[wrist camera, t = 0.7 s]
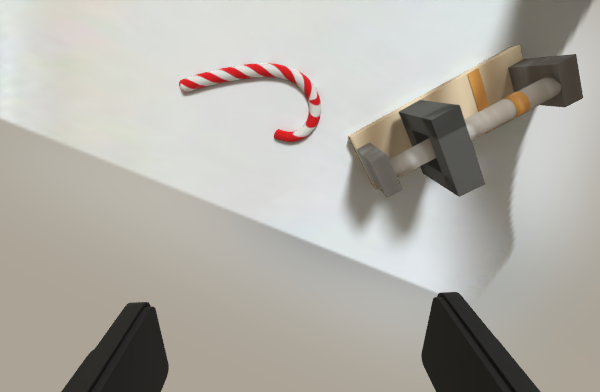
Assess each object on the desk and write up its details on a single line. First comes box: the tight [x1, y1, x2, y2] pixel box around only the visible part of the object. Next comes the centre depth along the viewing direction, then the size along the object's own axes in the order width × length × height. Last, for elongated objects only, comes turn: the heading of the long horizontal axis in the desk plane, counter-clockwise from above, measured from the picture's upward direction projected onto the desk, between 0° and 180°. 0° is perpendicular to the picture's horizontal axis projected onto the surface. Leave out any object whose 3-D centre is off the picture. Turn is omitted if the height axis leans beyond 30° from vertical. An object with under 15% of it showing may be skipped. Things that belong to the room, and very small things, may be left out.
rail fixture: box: [349, 45, 583, 197], centre depth 30 cm, size 19×7×7 cm, turn 119°
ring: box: [399, 100, 485, 197], centre depth 28 cm, size 2×8×7 cm, turn 29°
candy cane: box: [179, 63, 321, 142], centre depth 31 cm, size 8×1×15 cm
